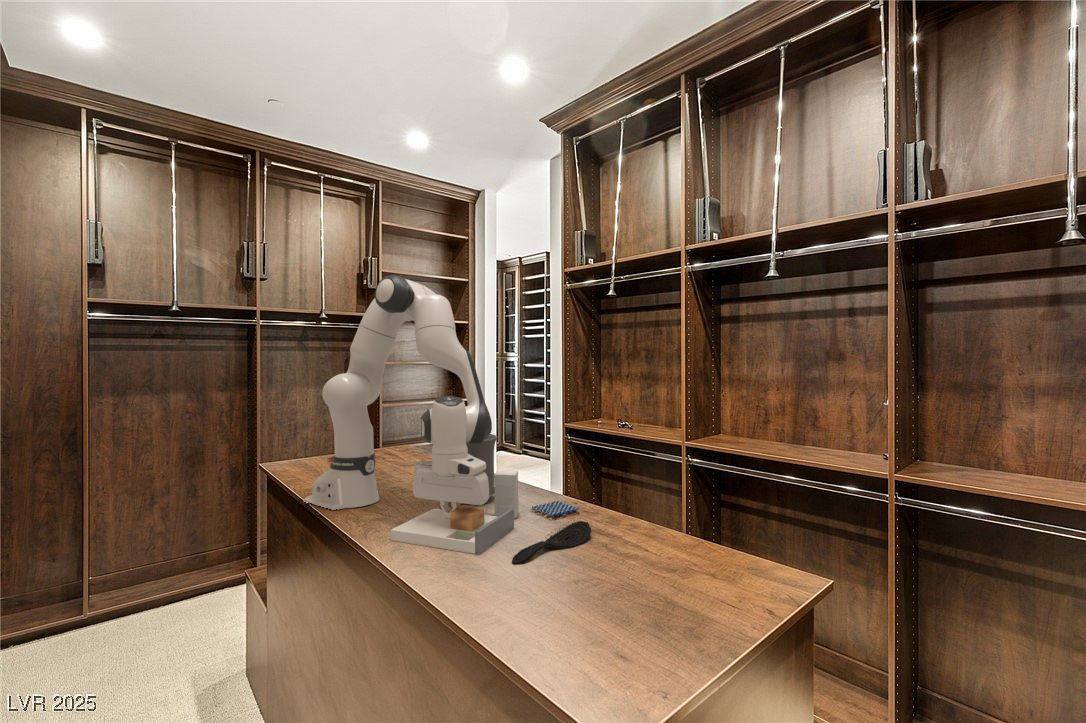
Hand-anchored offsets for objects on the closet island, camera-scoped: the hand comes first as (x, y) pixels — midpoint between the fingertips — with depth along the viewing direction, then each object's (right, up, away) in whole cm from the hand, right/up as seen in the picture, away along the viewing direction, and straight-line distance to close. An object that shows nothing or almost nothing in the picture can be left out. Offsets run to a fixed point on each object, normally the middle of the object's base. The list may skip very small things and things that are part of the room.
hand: (450, 518), depth 126 cm
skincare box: (+13, -4, +13) cm, 19 cm away
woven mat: (+26, -4, +16) cm, 31 cm away
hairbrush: (+25, -4, -9) cm, 27 cm away
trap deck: (+1, -4, 0) cm, 4 cm away
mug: (+1, -4, +28) cm, 28 cm away
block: (+4, -1, -2) cm, 5 cm away
